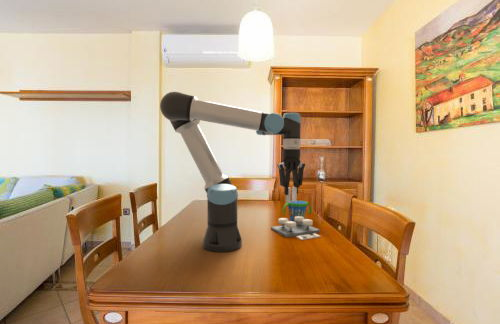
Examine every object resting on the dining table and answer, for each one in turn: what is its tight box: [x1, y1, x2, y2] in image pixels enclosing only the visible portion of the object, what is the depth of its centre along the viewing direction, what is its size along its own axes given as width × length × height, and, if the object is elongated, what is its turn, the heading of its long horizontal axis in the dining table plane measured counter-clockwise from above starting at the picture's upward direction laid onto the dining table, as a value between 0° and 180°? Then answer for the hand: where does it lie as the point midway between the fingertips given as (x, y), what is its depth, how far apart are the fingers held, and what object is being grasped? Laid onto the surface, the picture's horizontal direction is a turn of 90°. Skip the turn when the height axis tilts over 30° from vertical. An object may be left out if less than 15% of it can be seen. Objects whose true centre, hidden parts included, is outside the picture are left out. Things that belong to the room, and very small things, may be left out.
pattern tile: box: [295, 233, 322, 241], centre depth 120 cm, size 10×4×1 cm, turn 115°
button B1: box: [301, 218, 314, 228], centre depth 128 cm, size 5×5×3 cm
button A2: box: [277, 217, 289, 227], centre depth 130 cm, size 5×5×3 cm
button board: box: [271, 222, 321, 238], centre depth 130 cm, size 18×13×1 cm
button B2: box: [295, 216, 304, 225], centre depth 134 cm, size 5×5×3 cm
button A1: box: [285, 220, 297, 230], centre depth 125 cm, size 5×5×3 cm
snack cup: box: [282, 199, 312, 222], centre depth 147 cm, size 16×10×10 cm
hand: (291, 201), depth 124 cm, fingers open, 3 cm apart
